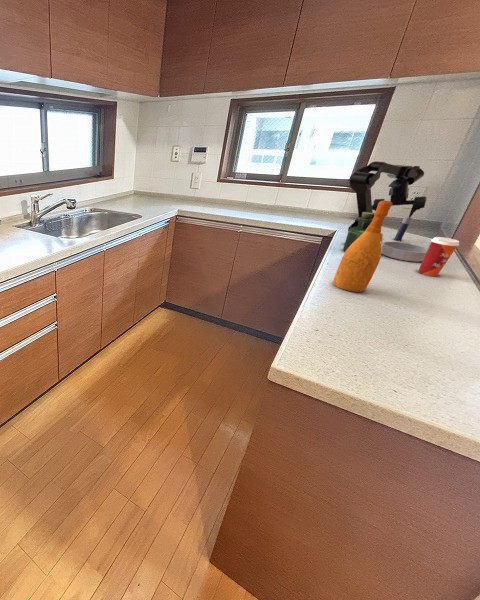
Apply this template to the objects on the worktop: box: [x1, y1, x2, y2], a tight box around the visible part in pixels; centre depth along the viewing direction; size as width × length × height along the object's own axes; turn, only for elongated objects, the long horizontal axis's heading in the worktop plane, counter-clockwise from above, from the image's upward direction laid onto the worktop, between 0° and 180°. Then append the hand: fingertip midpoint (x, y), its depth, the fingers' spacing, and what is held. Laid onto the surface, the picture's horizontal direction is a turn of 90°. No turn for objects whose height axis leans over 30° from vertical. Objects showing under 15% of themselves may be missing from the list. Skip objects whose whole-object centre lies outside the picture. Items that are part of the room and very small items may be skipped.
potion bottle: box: [342, 212, 374, 253], centre depth 147 cm, size 8×8×18 cm
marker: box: [393, 216, 413, 242], centre depth 168 cm, size 3×3×12 cm
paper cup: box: [417, 236, 460, 277], centre depth 126 cm, size 8×8×14 cm
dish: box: [381, 240, 428, 263], centre depth 146 cm, size 16×16×4 cm
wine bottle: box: [332, 200, 393, 293], centre depth 108 cm, size 10×10×30 cm
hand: (396, 217), depth 162 cm, fingers open, 9 cm apart
